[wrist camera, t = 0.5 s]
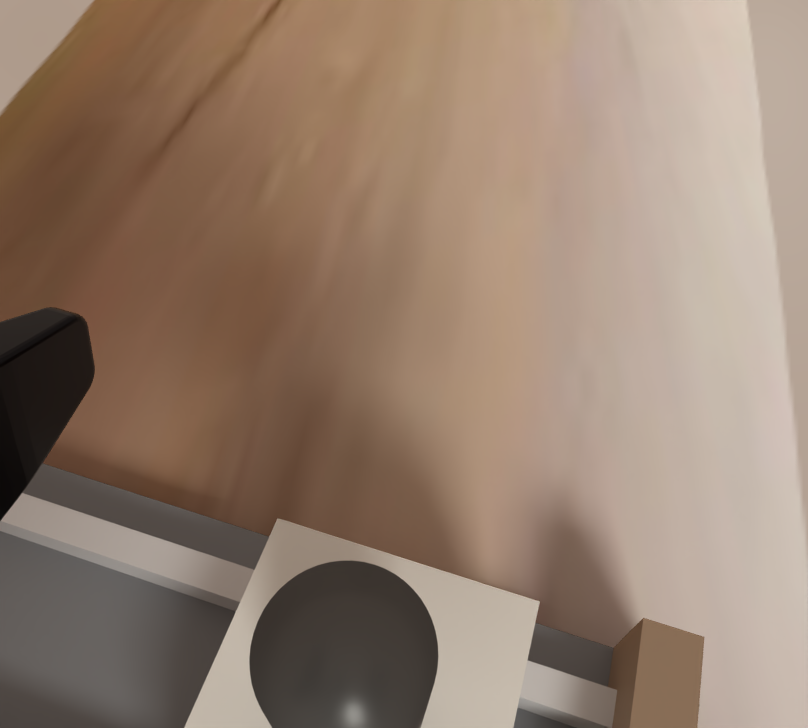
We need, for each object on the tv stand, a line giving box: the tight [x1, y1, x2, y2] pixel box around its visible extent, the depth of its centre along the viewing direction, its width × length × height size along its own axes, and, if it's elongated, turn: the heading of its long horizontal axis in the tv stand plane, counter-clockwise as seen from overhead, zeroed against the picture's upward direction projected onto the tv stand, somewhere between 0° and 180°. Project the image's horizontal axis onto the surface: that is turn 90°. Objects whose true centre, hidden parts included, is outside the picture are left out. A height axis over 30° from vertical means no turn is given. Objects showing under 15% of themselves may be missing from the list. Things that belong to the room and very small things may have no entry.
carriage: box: [184, 518, 540, 728], centre depth 16 cm, size 8×7×9 cm
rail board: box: [0, 463, 704, 728], centre depth 20 cm, size 10×26×4 cm, turn 72°
